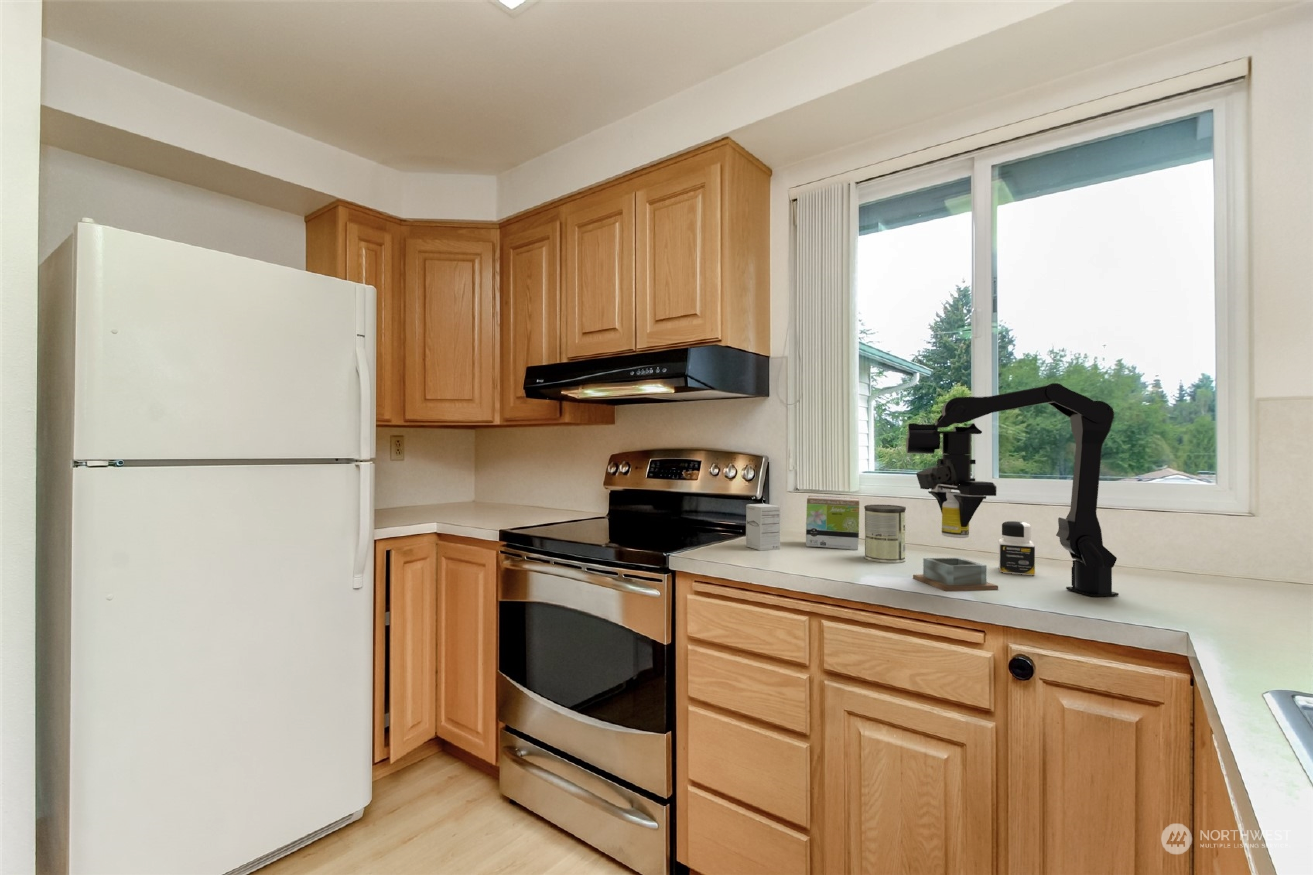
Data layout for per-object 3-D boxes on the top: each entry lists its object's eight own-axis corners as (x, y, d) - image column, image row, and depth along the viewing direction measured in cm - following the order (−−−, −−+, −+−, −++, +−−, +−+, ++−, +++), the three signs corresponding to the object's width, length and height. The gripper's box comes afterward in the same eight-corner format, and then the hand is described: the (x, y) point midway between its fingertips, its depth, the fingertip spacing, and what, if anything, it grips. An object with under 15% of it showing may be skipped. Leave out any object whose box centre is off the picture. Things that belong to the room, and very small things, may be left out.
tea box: (805, 547, 176) (805, 497, 176) (807, 542, 185) (807, 494, 185) (859, 550, 171) (859, 499, 171) (858, 545, 181) (858, 496, 181)
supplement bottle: (964, 539, 127) (964, 493, 128) (937, 536, 131) (938, 491, 131) (972, 536, 131) (973, 492, 131) (946, 534, 135) (947, 490, 135)
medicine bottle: (999, 572, 142) (999, 522, 143) (998, 567, 149) (998, 519, 149) (1035, 576, 139) (1035, 524, 139) (1032, 570, 145) (1032, 521, 146)
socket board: (998, 589, 126) (998, 566, 126) (946, 591, 124) (946, 568, 124) (961, 576, 137) (961, 556, 137) (913, 578, 136) (913, 557, 136)
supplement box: (745, 546, 176) (745, 504, 176) (765, 545, 179) (766, 503, 179) (759, 551, 169) (759, 506, 169) (780, 549, 172) (781, 505, 172)
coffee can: (860, 555, 164) (860, 504, 164) (898, 556, 163) (898, 504, 163) (869, 562, 154) (870, 508, 154) (911, 563, 153) (911, 508, 153)
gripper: (899, 453, 140) (898, 519, 140) (948, 454, 121) (947, 531, 121) (943, 453, 141) (942, 519, 141) (998, 455, 123) (997, 531, 122)
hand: (955, 525), depth 131 cm, fingers closed on supplement bottle, 5 cm apart
